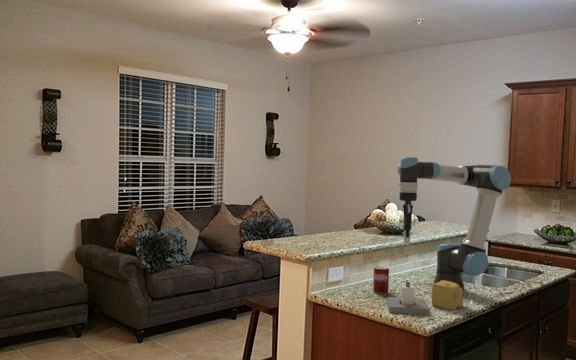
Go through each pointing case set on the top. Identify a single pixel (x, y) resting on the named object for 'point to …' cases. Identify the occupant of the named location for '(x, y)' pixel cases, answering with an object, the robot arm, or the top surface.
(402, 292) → the plug
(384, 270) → the soda can
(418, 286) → the top surface
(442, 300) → the cheese
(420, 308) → the socket
